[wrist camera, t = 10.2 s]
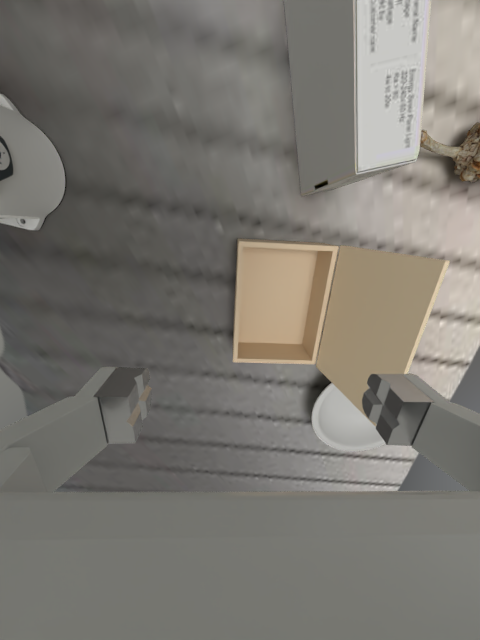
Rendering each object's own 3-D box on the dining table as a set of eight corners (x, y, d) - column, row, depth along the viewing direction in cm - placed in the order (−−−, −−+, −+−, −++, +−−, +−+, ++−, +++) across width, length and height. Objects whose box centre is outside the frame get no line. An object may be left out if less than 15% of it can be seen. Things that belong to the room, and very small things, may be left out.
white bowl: (409, 347, 54) (432, 363, 48) (390, 426, 63) (408, 448, 57) (305, 355, 54) (314, 372, 48) (301, 433, 63) (309, 455, 57)
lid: (381, 432, 31) (385, 432, 31) (445, 260, 23) (450, 260, 23) (315, 366, 46) (318, 366, 46) (340, 245, 37) (343, 245, 37)
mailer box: (232, 344, 52) (232, 362, 45) (237, 238, 44) (238, 241, 37) (304, 346, 53) (315, 364, 46) (322, 242, 45) (338, 246, 38)
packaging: (335, 188, 41) (419, 160, 23) (300, 196, 42) (355, 174, 23) (324, -79, 30) (476, -567, 11) (277, -66, 30) (349, -524, 12)
